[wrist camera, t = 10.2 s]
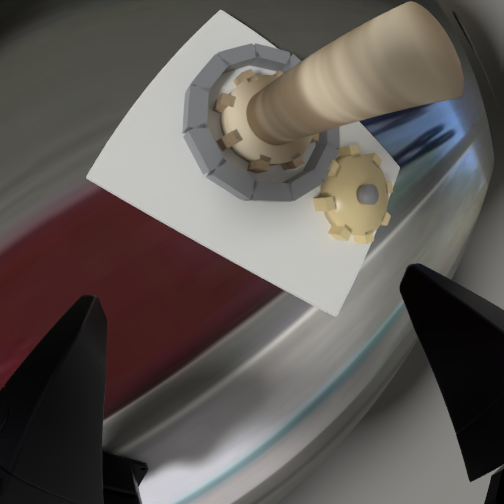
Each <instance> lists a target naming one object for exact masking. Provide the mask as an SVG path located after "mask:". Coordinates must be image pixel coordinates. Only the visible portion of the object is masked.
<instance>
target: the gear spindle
mask: <svg viewBox="0 0 504 504" xmlns="http://www.w3.org/2000/svg"><path fill="white" fill-rule="evenodd" d="M233 82H234V84H235V85H236V88H235V89H234V90H233V91H232V92H231V93H230V94H226V93H222V94H221V95H220V96H219V97H218V98H217V99H216V100H215V103H214V107H213V110H212V111H214V112H217V113H220V126H221V130H222V133H223V137H221V138H220V139H219V140H217V142H218V144H219V145H220V147H221V149H222V151H224V150H225V149H227V148H229V147H230V148H231V149H232V150H233V151H234V152H235V153H236V154H237V155H238V156H239V157H241V158H242V159H243V160H245V161H247V162H249V164H248V169H247V171H251V172H254V173H257V174H258V173H262V172H266V171H269V166H274V165H278V164H281V166H282V167H283V169H284V170H289V169H294V168H297V167H299V166H300V165H302V164H304V161H303V159H302V157H301V155H302V154H303V153H304V152H305V151H306V149H307V148H308V146H309V144H310V143H314V142H317V141H318V140H319V134H320V133H321V132H324V131H327V130H330V129H333V128H337V127H340V126H343V125H347V124H350V123H354V122H357V121H361V120H364V119H368V118H372V117H376V116H379V115H383V114H387V113H391V112H395V111H399V110H403V109H408V108H412V107H416V106H421V105H426V104H430V103H435V102H440V101H445V100H451V99H456V98H459V97H461V96H462V94H463V91H464V77H463V72H462V67H461V64H460V61H459V58H458V55H457V53H456V51H455V48H454V46H453V44H452V42H451V40H450V39H449V37H448V35H447V34H446V32H445V31H444V29H443V28H442V26H441V25H440V24H439V22H438V21H437V20H436V19H435V18H434V16H433V15H432V14H431V13H430V12H429V11H427V10H426V9H425V8H424V7H422V6H421V5H419V4H417V3H415V2H407V3H405V4H402V5H400V6H398V7H396V8H394V9H392V10H390V11H388V12H386V13H384V14H382V15H380V16H378V17H376V18H374V19H372V20H370V21H368V22H366V23H364V24H363V25H361V26H359V27H357V28H355V29H353V30H352V31H350V32H348V33H346V34H345V35H343V36H341V37H340V38H338V39H336V40H334V41H333V42H331V43H329V44H328V45H326V46H325V47H323V48H321V49H320V50H318V51H317V52H315V53H313V54H312V55H310V56H309V57H307V58H306V59H304V60H303V61H301V62H300V63H298V64H297V65H295V66H294V67H292V68H291V69H289V70H288V71H286V72H285V73H283V72H281V71H277V72H276V73H275V74H273V75H255V74H254V72H253V71H252V69H249V70H246V71H244V72H242V73H240V74H239V75H238V76H237V77H236V78H235V79H234V80H233Z"/></svg>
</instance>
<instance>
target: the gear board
mask: <svg viewBox="0 0 504 504" xmlns="http://www.w3.org/2000/svg"><path fill="white" fill-rule="evenodd" d="M300 62H301V60H300V59H298V58H297V57H296V56H295V55H293V54H292V55H291V56H290V52H287V51H283V50H280V49H277V48H276V47H275V46H274V45H272V44H271V43H269V42H268V41H267V40H265V39H264V38H263V37H261V36H260V35H258V34H257V33H256V32H254V31H253V30H251V29H250V28H248V27H247V26H245V25H244V24H242V23H241V22H239V21H238V20H236V19H235V18H233V17H232V16H230V15H229V14H227V13H225V12H224V11H222V10H220V11H219V12H217V13H216V14H215V15H214V16H213V17H212V18H211V19H210V20H209V21H208V22H207V23H206V24H205V25H204V26H203V27H201V28H200V29H199V30H198V31H197V32H196V33H195V34H194V35H193V36H192V37H191V38H190V39H189V41H188V42H187V43H186V44H185V45H184V46H183V47H182V48H181V49H180V50H179V51H178V52H177V53H176V54H175V55H174V57H173V58H172V59H171V60H170V61H169V62H168V63H167V64H166V66H165V67H164V68H163V69H162V70H161V71H160V72H159V74H158V75H157V76H156V77H155V78H154V80H153V81H152V82H151V83H150V85H149V86H148V87H147V88H146V90H145V91H144V92H143V93H142V95H141V96H140V97H139V98H138V100H137V101H136V102H135V104H134V105H133V106H132V108H131V109H130V110H129V112H128V113H127V115H126V116H125V117H124V119H123V120H122V122H121V123H120V124H119V126H118V127H117V129H116V130H115V132H114V133H113V135H112V136H111V138H110V139H109V141H108V142H107V144H106V145H105V147H104V148H103V150H102V152H101V153H100V155H99V156H98V158H97V160H96V161H95V163H94V165H93V166H92V168H91V170H90V171H89V173H88V175H87V177H86V178H87V179H88V180H90V181H91V182H93V183H95V184H96V185H98V186H100V187H101V188H103V189H105V190H107V191H108V192H110V193H112V194H113V195H115V196H117V197H119V198H120V199H122V200H124V201H126V202H127V203H129V204H131V205H133V206H134V207H136V208H138V209H139V210H141V211H143V212H145V213H146V214H148V215H150V216H152V217H153V218H155V219H157V220H159V221H160V222H162V223H164V224H166V225H167V226H169V227H171V228H173V229H175V230H176V231H178V232H180V233H182V234H183V235H185V236H187V237H189V238H191V239H192V240H194V241H196V242H198V243H199V244H201V245H203V246H205V247H207V248H208V249H210V250H212V251H214V252H216V253H217V254H219V255H221V256H223V257H225V258H226V259H228V260H230V261H232V262H234V263H235V264H237V265H239V266H241V267H243V268H245V269H246V270H248V271H250V272H252V273H254V274H255V275H257V276H259V277H261V278H263V279H265V280H266V281H268V282H270V283H272V284H274V285H276V286H278V287H279V288H281V289H283V290H285V291H287V292H289V293H290V294H292V295H294V296H296V297H298V298H300V299H302V300H303V301H305V302H307V303H309V304H311V305H313V306H315V307H317V308H318V309H320V310H322V311H324V312H326V313H328V314H330V315H332V316H334V317H337V315H338V313H339V311H340V309H341V307H342V305H343V303H344V301H345V299H346V297H347V295H348V293H349V291H350V289H351V287H352V285H353V283H354V280H355V278H356V276H357V274H358V272H359V270H360V267H361V265H362V263H363V261H364V259H365V256H366V254H367V252H368V249H369V247H370V245H371V242H373V241H374V235H375V233H376V230H377V228H378V227H379V226H380V225H386V226H387V225H388V222H389V220H390V217H391V215H390V214H389V213H388V212H387V208H388V200H389V197H390V195H391V193H392V192H393V187H394V184H395V181H396V178H397V175H398V172H399V170H400V167H399V166H398V164H397V163H396V162H395V161H394V160H393V158H392V157H391V156H390V155H389V154H388V152H387V151H386V150H385V149H384V148H383V147H382V146H381V144H380V143H379V142H378V141H377V140H376V139H375V138H374V137H373V136H372V134H371V133H370V132H369V131H368V130H367V129H366V128H365V127H364V126H363V125H362V124H361V123H360V122H359V121H357V122H354V123H350V124H347V125H343V126H340V127H337V128H333V129H330V130H327V131H324V132H321V133H320V134H319V140H318V141H317V142H314V143H310V144H309V146H308V148H307V149H306V151H305V152H304V153H303V154H302V155H301V157H302V159H303V161H304V164H302V165H300V166H299V167H297V168H294V169H289V170H284V169H283V167H282V166H281V164H278V165H274V166H269V171H266V172H262V173H258V174H257V173H254V172H251V171H247V169H248V164H249V162H247V161H245V160H243V159H242V158H241V157H239V156H238V155H237V154H236V153H235V152H234V151H233V150H232V149H231V148H230V147H229V148H227V149H225V150H224V151H222V149H221V147H220V145H219V144H218V142H217V140H219V139H220V138H221V137H223V133H222V130H221V126H220V113H217V112H214V111H212V110H213V107H214V103H215V100H216V99H217V98H218V97H219V96H220V95H221V94H222V93H226V94H230V93H231V92H232V91H233V90H234V89H235V88H236V85H235V84H234V82H233V80H234V79H235V78H236V77H237V76H238V75H239V74H240V73H242V72H244V71H246V70H249V69H252V71H253V72H254V74H255V75H273V74H275V73H276V72H277V71H281V72H283V73H285V72H286V71H288V70H289V69H291V68H292V67H294V66H295V65H297V64H298V63H300Z"/></svg>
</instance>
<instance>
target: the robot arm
mask: <svg viewBox="0 0 504 504" xmlns="http://www.w3.org/2000/svg"><path fill="white" fill-rule="evenodd" d="M400 293H401V295H402V298H403V300H404V303H405V306H406V308H407V311H408V313H409V316H410V319H411V322H412V324H413V327H414V330H415V332H416V334H417V337H418V339H419V341H420V343H421V345H422V348H423V350H424V352H425V354H426V356H427V359H428V361H429V364H430V366H431V368H432V371H433V373H434V375H435V378H436V380H437V383H438V385H439V388H440V391H441V393H442V396H443V398H444V401H445V404H446V406H447V409H448V412H449V415H450V418H451V420H452V423H453V426H454V429H455V432H456V436H457V439H458V442H459V446H460V449H461V453H462V456H463V459H464V463H465V467H466V470H467V474H468V478H469V481H470V482H472V481H474V480H476V479H478V478H480V477H482V476H483V475H485V474H487V473H489V472H491V471H493V470H495V469H496V468H498V467H500V466H502V465H503V464H504V310H503V309H501V308H499V307H498V306H496V305H494V304H493V303H491V302H489V301H487V300H486V299H484V298H482V297H481V296H479V295H477V294H475V293H474V292H472V291H470V290H468V289H466V288H465V287H463V286H461V285H459V284H457V283H456V282H454V281H452V280H450V279H448V278H446V277H445V276H443V275H441V274H439V273H437V272H435V271H433V270H431V269H430V268H428V267H426V266H424V265H422V264H419V263H417V264H410V265H409V266H408V267H407V268H406V271H405V273H404V276H403V278H402V281H401V283H400ZM106 340H107V320H106V316H105V314H104V311H103V309H102V306H101V303H100V301H99V299H98V297H97V296H96V295H83V296H81V297H80V298H79V299H78V300H77V301H76V302H75V303H74V304H73V305H72V307H71V308H70V309H69V310H68V311H67V312H66V313H65V314H64V315H63V316H62V317H61V318H60V319H59V321H58V322H57V323H56V324H55V325H54V326H53V327H52V328H51V329H50V331H49V332H48V333H47V334H46V335H45V336H44V337H43V339H42V340H41V341H40V342H39V343H38V344H37V346H36V347H35V348H34V349H33V350H32V351H31V353H30V354H29V355H28V356H27V357H26V359H25V360H24V361H23V362H22V363H21V365H20V366H19V367H18V368H17V370H16V371H15V372H14V373H13V375H12V376H11V377H10V378H9V380H8V381H7V382H6V384H5V387H2V389H1V390H0V504H142V501H141V497H140V493H139V488H138V487H139V485H140V483H141V481H142V480H143V478H144V476H145V474H146V473H147V471H148V466H147V464H146V463H142V462H138V461H134V460H130V459H126V458H122V457H119V456H115V455H112V454H108V453H105V452H102V431H103V410H104V396H105V384H106ZM141 467H143V468H141ZM484 504H504V465H503V466H502V467H501V468H500V469H498V470H497V471H496V472H495V473H494V474H493V475H492V476H491V480H490V485H489V489H488V492H487V496H486V500H485V503H484Z"/></svg>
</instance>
